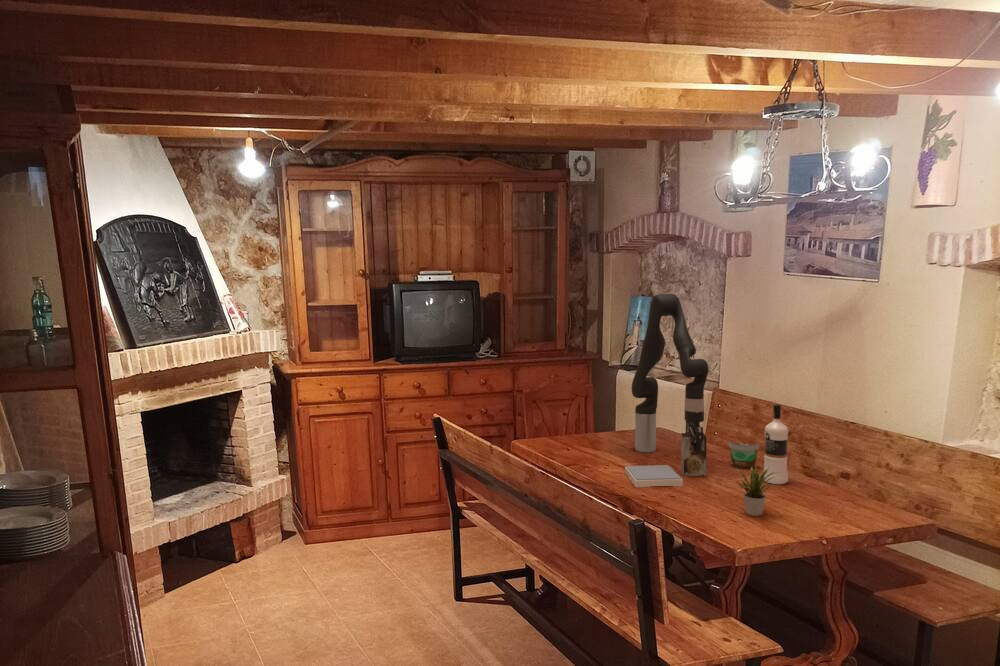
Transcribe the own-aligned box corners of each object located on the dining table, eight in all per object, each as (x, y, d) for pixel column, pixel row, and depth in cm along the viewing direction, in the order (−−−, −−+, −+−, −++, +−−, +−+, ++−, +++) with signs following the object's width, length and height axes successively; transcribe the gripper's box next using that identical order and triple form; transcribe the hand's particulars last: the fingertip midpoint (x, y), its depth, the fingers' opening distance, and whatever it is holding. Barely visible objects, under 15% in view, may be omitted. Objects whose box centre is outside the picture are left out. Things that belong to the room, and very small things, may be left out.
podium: (625, 473, 281) (625, 465, 281) (669, 472, 282) (669, 464, 282) (635, 487, 263) (635, 479, 263) (682, 486, 264) (682, 478, 264)
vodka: (792, 484, 264) (794, 407, 261) (768, 485, 264) (770, 407, 261) (781, 477, 274) (783, 402, 271) (758, 477, 273) (760, 402, 270)
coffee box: (703, 471, 282) (704, 432, 281) (706, 476, 276) (707, 436, 274) (680, 471, 283) (681, 432, 282) (683, 476, 277) (683, 436, 275)
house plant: (789, 519, 229) (791, 470, 228) (753, 524, 225) (755, 474, 224) (761, 505, 243) (763, 459, 241) (727, 509, 239) (728, 462, 237)
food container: (726, 468, 287) (727, 444, 286) (727, 464, 293) (728, 440, 292) (758, 471, 282) (759, 446, 281) (759, 466, 288) (759, 443, 287)
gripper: (679, 406, 284) (679, 445, 285) (690, 412, 270) (690, 454, 271) (697, 405, 284) (697, 444, 286) (709, 412, 270) (709, 453, 271)
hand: (693, 449), depth 278 cm, fingers open, 8 cm apart
